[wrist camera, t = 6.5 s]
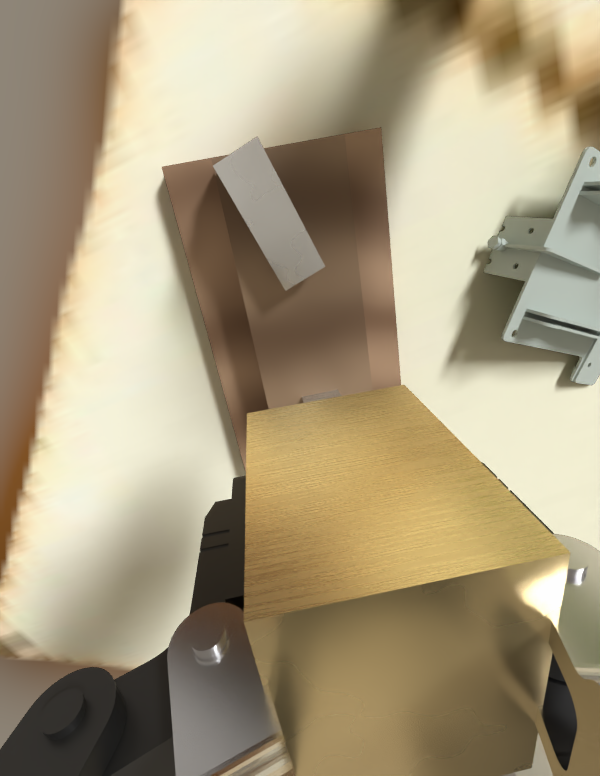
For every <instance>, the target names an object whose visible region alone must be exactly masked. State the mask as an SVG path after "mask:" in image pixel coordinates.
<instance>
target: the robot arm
mask: <svg viewBox="0 0 600 776" xmlns="http://www.w3.org/2000/svg"><path fill="white" fill-rule="evenodd" d="M481 463H482V462H481ZM482 464H483V465H484V466H485V467H486V468H487V469H488V470H489V471H490V472H491V473H492V474H493V475H494V476H495V477H496V478H497V476H496V475H495V474H494V473H493V472H492V471H491V470H490V469H489V468H488V467H487V466H486V465H485V464H484V463H482ZM498 480H499V481H500V482H501V483H502V484H503V485H504V486H505V487H506V488H507V489H508V487H507V486H506V485H505V484H504V483H503V482H502V481H501V480H500V479H498ZM510 492H511V493H512V494H513V495H514V496H515V497H516V498H517V499H518V500H519V501H520V502H521V503H522V504H523V505H524V506H525V507H526V508H527V509H528V510H529V511H530V512H531V513H532V514H533V515H534V516H535V517H536V518H537V519H538V520H539V521H540V522H541V523H542V524H543V525H544V526H545V527H546V528H547V529H548V530H549V531H550V532H551V533H552V534H553V535H554V536H555V537H556V538H557V539H558V540H559V541H560V542H561V543H562V544H563V546H564V547H565V548H566V549H567V550H568V551H569V552H570V553H571V554H570V559H569V565H568V570H567V576H566V581H565V587H564V592H563V598H562V604H561V609H560V615H559V619H558V620H554V621H552V625H551V631H550V637H549V645H550V647H551V650H552V652H553V653H552V659H551V664H550V670H549V675H548V681H547V687H546V692H545V698H544V703H543V705H542V706H538V709H537V715H536V720H535V724H536V727H537V730H538V736H537V742H536V747H535V753H534V758H533V764H532V768H530V769H526V770H522V771H518V772H514V773H510V774H506V775H502V776H600V551H598V550H597V549H596V548H594V547H592V546H591V545H589V544H587V543H585V542H583V541H581V540H578V539H576V538H573V537H569V536H565V535H559V534H554V533H553V532H552V531H551V530H550V529H549V528H548V527H547V526H546V525H545V524H544V523H543V522H542V521H541V520H540V519H539V518H538V517H537V516H536V515H535V514H534V513H533V512H532V511H531V510H530V509H529V508H528V507H527V506H526V505H525V504H524V503H523V502H522V501H521V500H520V499H519V498H518V497H517V496H516V495H515V494H514V493H513V492H512V491H511V490H510ZM245 507H246V476H242V477H237V478H234V479H233V487H232V499H228V500H223V501H218V502H215V504H214V505H213V507H212V508H211V510H210V511H209V513H208V514H207V516H206V517H205V521H204V527H203V534H202V535H203V538H202V540H201V547H200V553H199V559H198V566H197V572H196V579H195V585H194V591H193V598H192V604H191V610H190V614H189V616H188V617H187V618H186V619H184V621H183V622H182V623H181V624H180V625H179V626H178V628H177V629H176V631H175V632H174V634H173V636H172V638H171V641H170V644H169V647H168V648H167V649H166V650H165V651H163V652H162V653H161V654H159V655H158V656H157V657H155V658H153V659H152V660H150V661H148V662H146V663H145V664H143V665H141V666H139V667H137V668H135V669H134V670H132V671H130V672H128V673H126V674H124V675H123V676H121V677H119V678H117V679H115V680H114V679H113V678H112V676H111V675H110V673H109V672H107V671H106V670H104V669H101V668H97V667H90V668H84V669H80V670H77V671H75V672H72V673H70V674H68V675H66V676H65V677H63V678H61V679H60V680H58V681H57V682H56V683H54V684H53V685H52V686H51V687H49V688H48V689H47V690H46V691H45V692H44V693H43V694H42V695H41V696H40V697H39V698H38V699H37V700H36V701H35V703H34V704H33V705H32V706H31V708H30V709H29V710H28V712H27V713H26V714H25V716H24V717H23V719H22V720H21V721H20V723H19V724H18V726H17V727H16V728H15V730H14V731H13V732H12V734H11V735H10V737H9V738H8V740H7V741H6V742H5V744H4V745H3V746H2V748H1V749H0V776H296V775H295V772H294V769H293V765H292V762H291V759H290V755H289V752H288V749H287V746H286V743H285V740H284V736H283V733H282V730H281V726H280V723H279V720H278V716H277V713H276V710H275V706H274V703H273V700H272V696H271V693H270V690H269V686H268V684H267V685H262V682H261V679H260V675H259V672H258V669H257V665H256V662H255V658H254V655H253V652H252V648H251V645H250V641H249V638H248V635H247V631H246V628H245V625H244V574H245Z"/></svg>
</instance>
